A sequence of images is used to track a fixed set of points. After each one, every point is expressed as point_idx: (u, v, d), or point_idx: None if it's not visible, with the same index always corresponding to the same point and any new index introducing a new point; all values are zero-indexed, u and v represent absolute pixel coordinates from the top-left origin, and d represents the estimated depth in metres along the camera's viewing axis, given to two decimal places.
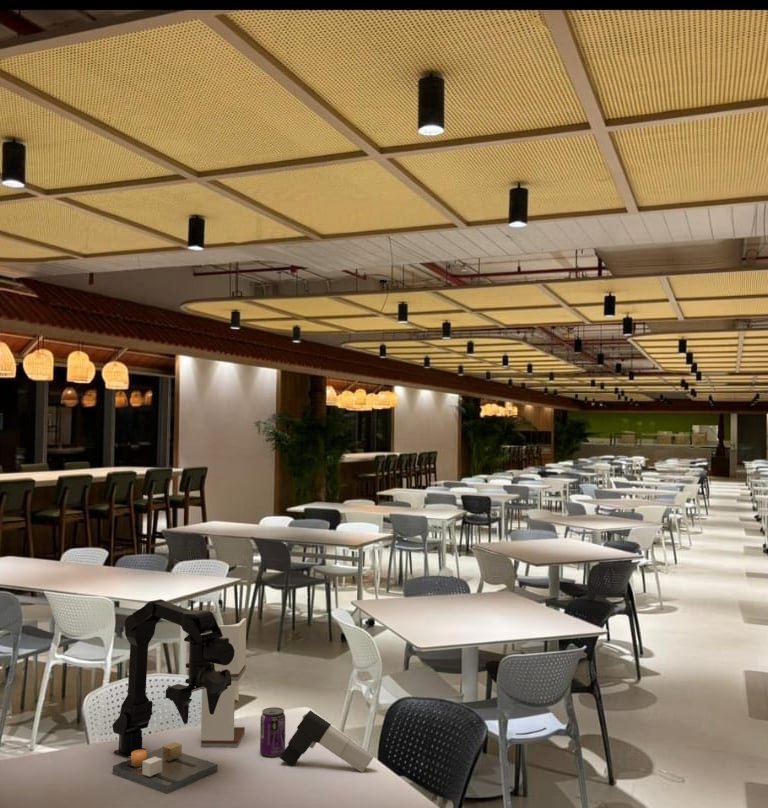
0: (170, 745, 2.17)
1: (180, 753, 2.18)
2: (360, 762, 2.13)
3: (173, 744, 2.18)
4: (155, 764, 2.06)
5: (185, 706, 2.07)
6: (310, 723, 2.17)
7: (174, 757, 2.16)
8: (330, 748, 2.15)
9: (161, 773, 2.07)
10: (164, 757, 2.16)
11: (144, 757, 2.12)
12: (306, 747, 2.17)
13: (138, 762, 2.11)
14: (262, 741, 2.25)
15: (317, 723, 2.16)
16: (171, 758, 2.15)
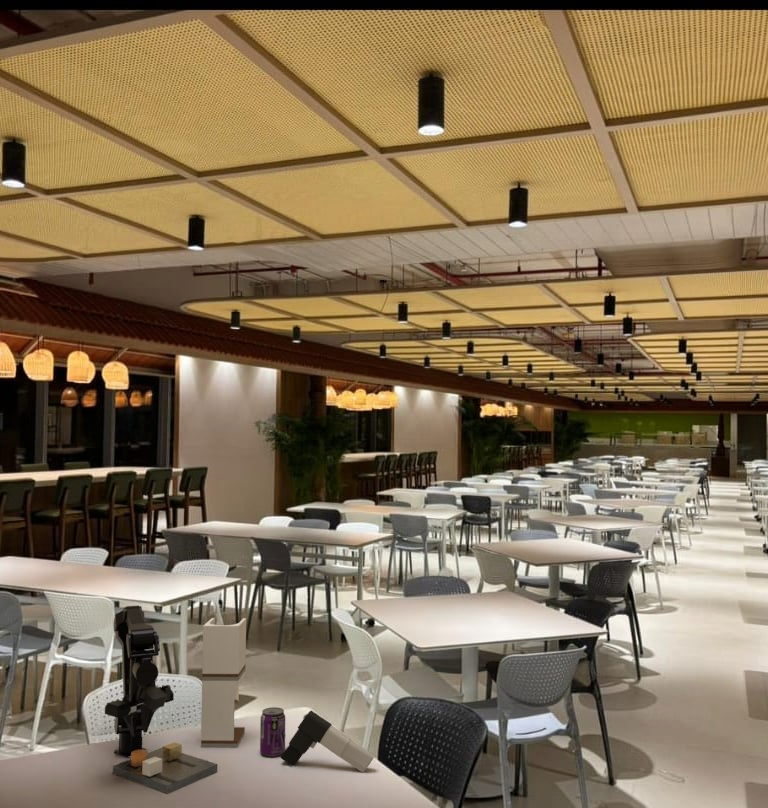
0: (170, 745, 2.17)
1: (180, 753, 2.18)
2: (361, 762, 2.13)
3: (173, 744, 2.18)
4: (155, 764, 2.06)
5: (133, 719, 2.10)
6: (311, 723, 2.17)
7: (174, 757, 2.16)
8: (330, 748, 2.15)
9: (161, 773, 2.07)
10: (164, 757, 2.16)
11: (144, 757, 2.12)
12: (307, 747, 2.17)
13: (138, 762, 2.11)
14: (262, 741, 2.25)
15: (318, 723, 2.16)
16: (171, 758, 2.15)
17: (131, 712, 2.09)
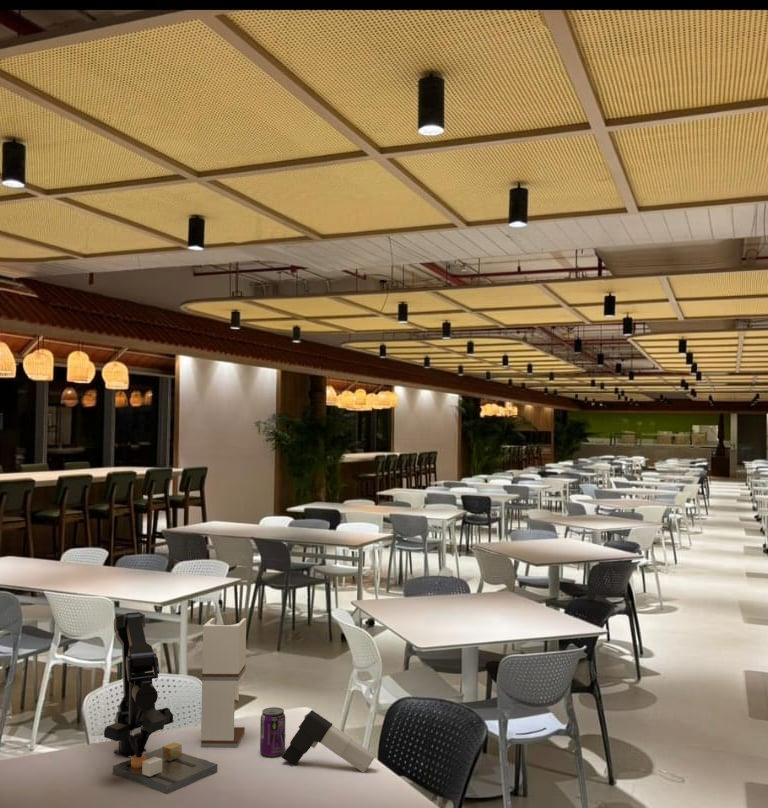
0: (170, 745, 2.17)
1: (180, 753, 2.18)
2: (362, 762, 2.13)
3: (173, 744, 2.18)
4: (155, 764, 2.06)
5: (137, 740, 2.11)
6: (312, 723, 2.17)
7: (174, 757, 2.16)
8: (331, 748, 2.15)
9: (161, 773, 2.07)
10: (164, 757, 2.16)
11: None
12: (308, 747, 2.17)
13: (138, 767, 2.11)
14: (262, 741, 2.25)
15: (319, 723, 2.17)
16: (171, 758, 2.15)
17: (135, 733, 2.10)
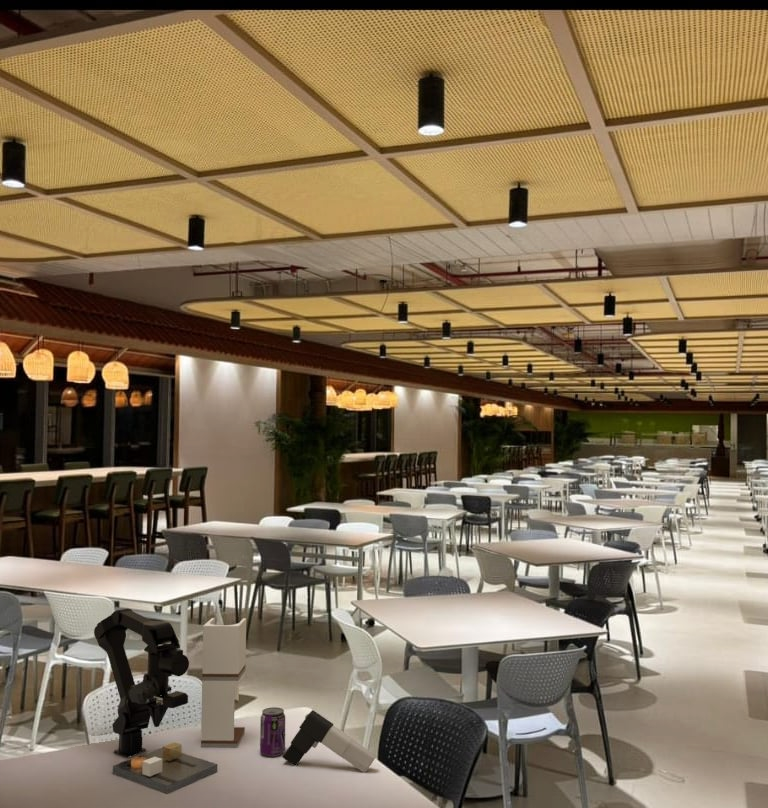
0: (170, 745, 2.17)
1: (180, 753, 2.18)
2: (362, 762, 2.13)
3: (173, 744, 2.18)
4: (155, 764, 2.06)
5: (149, 708, 2.20)
6: (312, 723, 2.17)
7: (174, 757, 2.16)
8: (332, 748, 2.15)
9: (161, 773, 2.07)
10: (164, 757, 2.16)
11: None
12: (308, 747, 2.17)
13: None
14: (262, 741, 2.25)
15: (320, 723, 2.17)
16: (171, 758, 2.15)
17: None
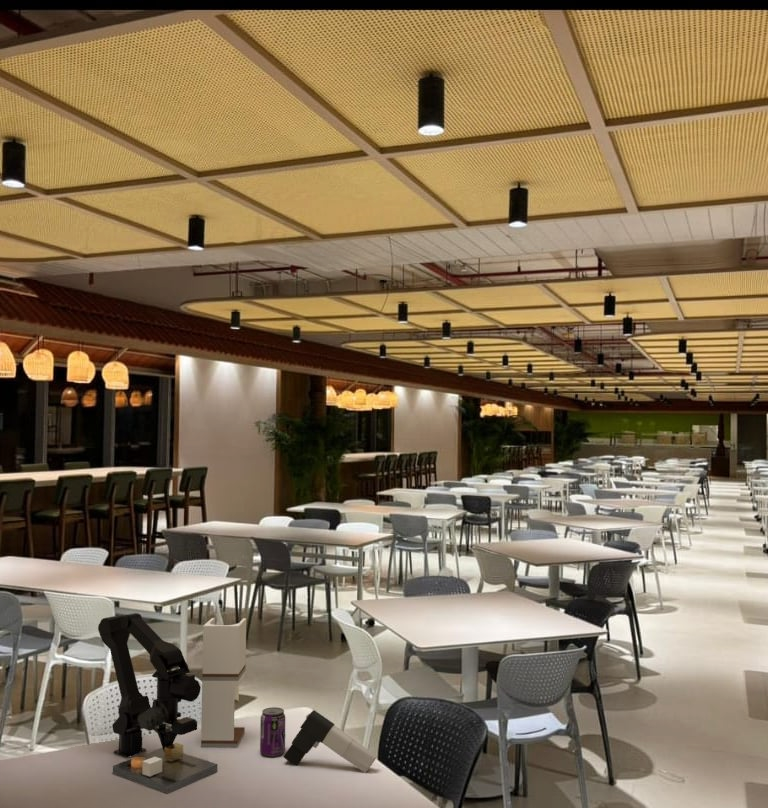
0: (172, 746, 2.17)
1: (182, 753, 2.17)
2: (363, 762, 2.13)
3: (175, 745, 2.18)
4: (155, 764, 2.06)
5: (158, 734, 2.19)
6: (313, 723, 2.17)
7: (176, 758, 2.16)
8: (333, 748, 2.15)
9: (161, 773, 2.07)
10: (165, 758, 2.16)
11: None
12: (309, 747, 2.17)
13: None
14: (262, 741, 2.25)
15: (320, 723, 2.17)
16: (173, 759, 2.15)
17: None
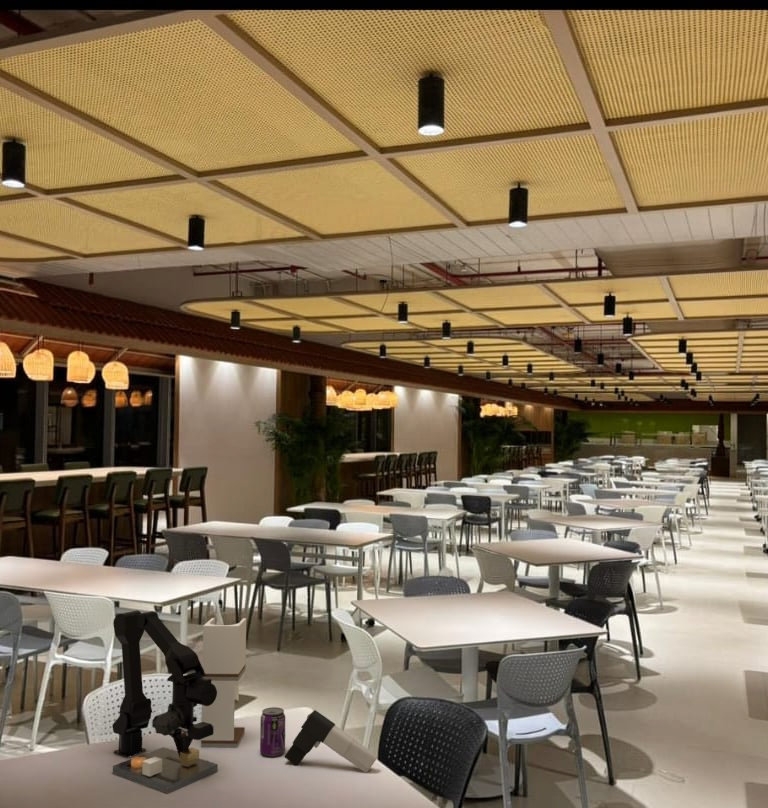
0: (187, 750, 2.13)
1: (197, 758, 2.14)
2: (364, 762, 2.13)
3: (190, 749, 2.14)
4: (155, 764, 2.06)
5: (174, 739, 2.15)
6: (314, 723, 2.17)
7: (192, 763, 2.12)
8: (334, 748, 2.15)
9: (161, 773, 2.07)
10: (181, 763, 2.12)
11: None
12: (310, 746, 2.17)
13: None
14: (262, 741, 2.25)
15: (321, 723, 2.17)
16: (189, 764, 2.11)
17: None
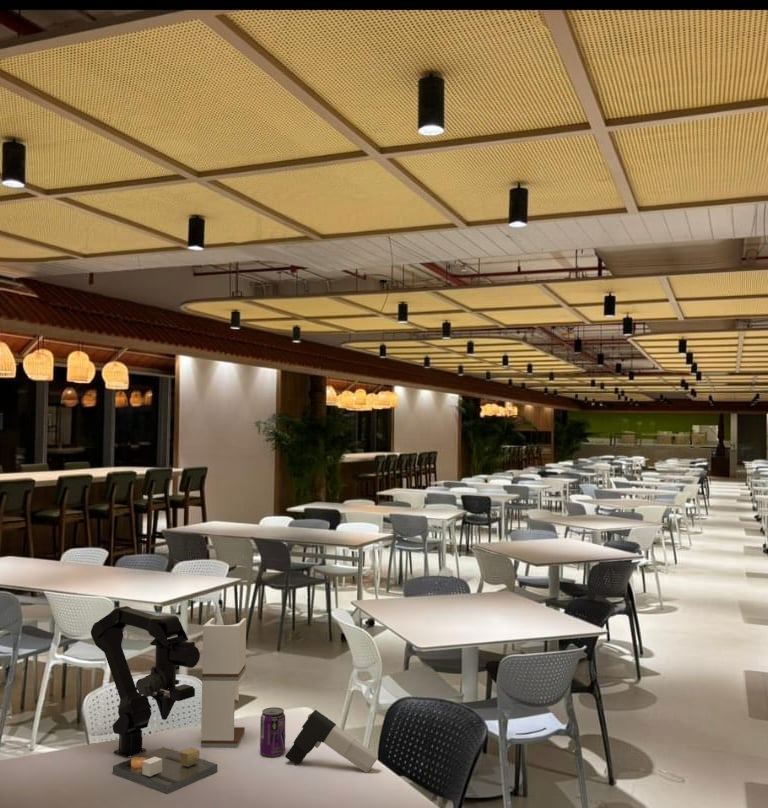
0: (187, 750, 2.13)
1: (197, 758, 2.14)
2: (365, 762, 2.13)
3: (190, 749, 2.14)
4: (155, 764, 2.06)
5: (156, 701, 2.21)
6: (315, 722, 2.17)
7: (192, 763, 2.12)
8: (334, 748, 2.15)
9: (161, 773, 2.07)
10: (181, 763, 2.12)
11: None
12: (311, 746, 2.17)
13: None
14: (262, 741, 2.25)
15: (322, 723, 2.17)
16: (189, 764, 2.11)
17: None
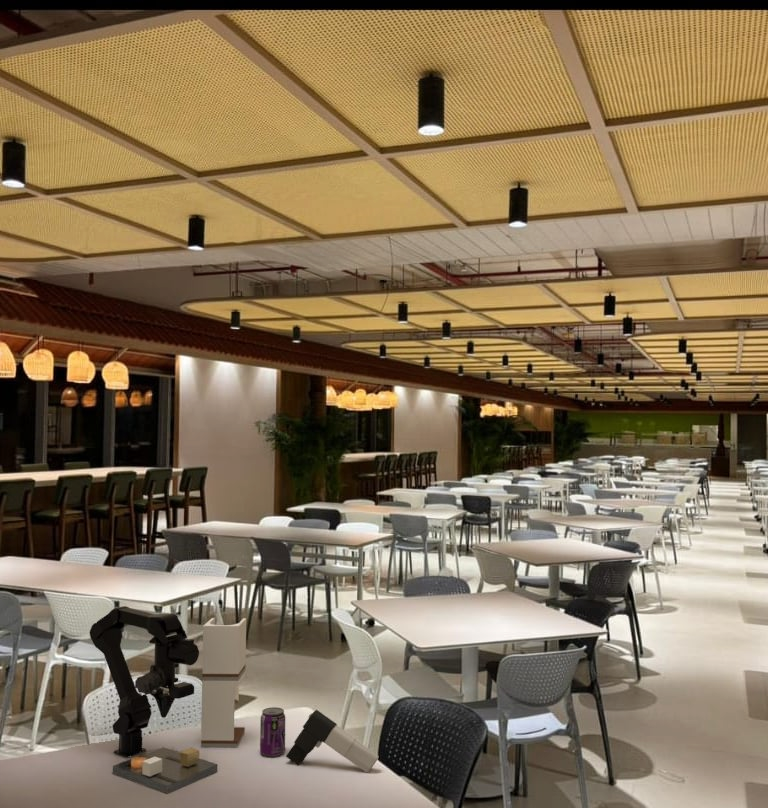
0: (187, 750, 2.13)
1: (197, 758, 2.14)
2: (365, 762, 2.13)
3: (190, 749, 2.14)
4: (155, 764, 2.06)
5: (156, 699, 2.22)
6: (316, 722, 2.17)
7: (192, 763, 2.12)
8: (335, 748, 2.15)
9: (161, 773, 2.07)
10: (181, 763, 2.12)
11: None
12: (312, 746, 2.17)
13: None
14: (262, 741, 2.25)
15: (323, 722, 2.17)
16: (189, 764, 2.11)
17: (151, 690, 2.22)
